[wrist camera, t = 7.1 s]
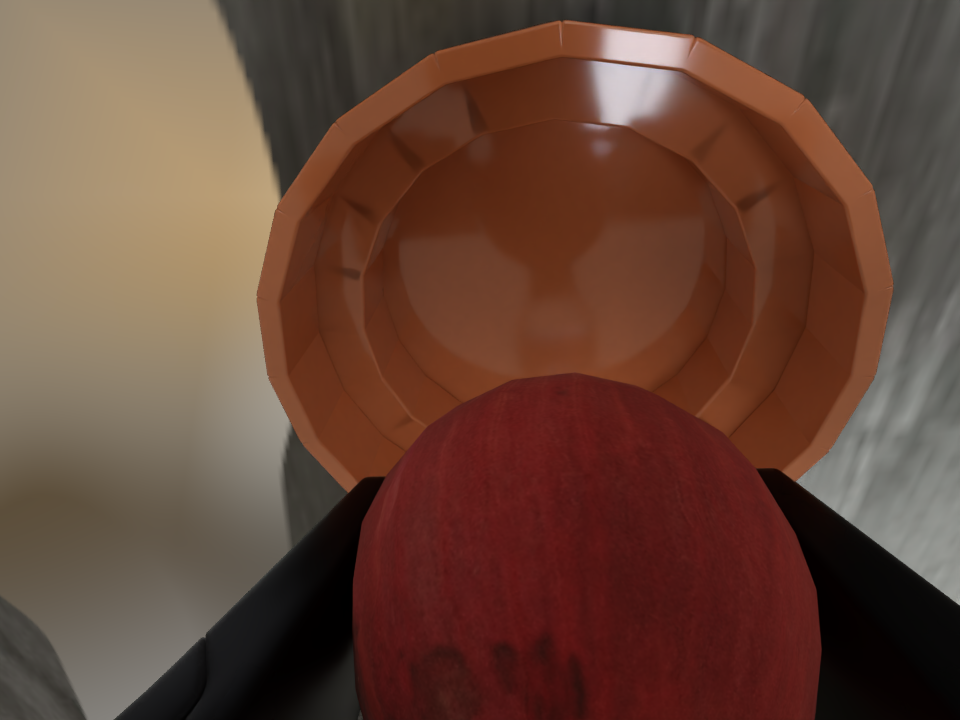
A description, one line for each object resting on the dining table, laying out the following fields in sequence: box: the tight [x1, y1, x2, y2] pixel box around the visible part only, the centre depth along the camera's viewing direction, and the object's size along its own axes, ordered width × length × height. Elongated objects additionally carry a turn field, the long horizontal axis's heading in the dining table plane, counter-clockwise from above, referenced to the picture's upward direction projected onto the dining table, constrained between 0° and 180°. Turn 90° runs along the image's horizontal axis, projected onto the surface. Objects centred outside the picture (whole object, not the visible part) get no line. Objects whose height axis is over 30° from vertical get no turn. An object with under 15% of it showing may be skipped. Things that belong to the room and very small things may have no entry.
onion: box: [352, 372, 822, 720], centre depth 7 cm, size 6×6×8 cm
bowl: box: [257, 20, 894, 493], centre depth 14 cm, size 13×13×5 cm
